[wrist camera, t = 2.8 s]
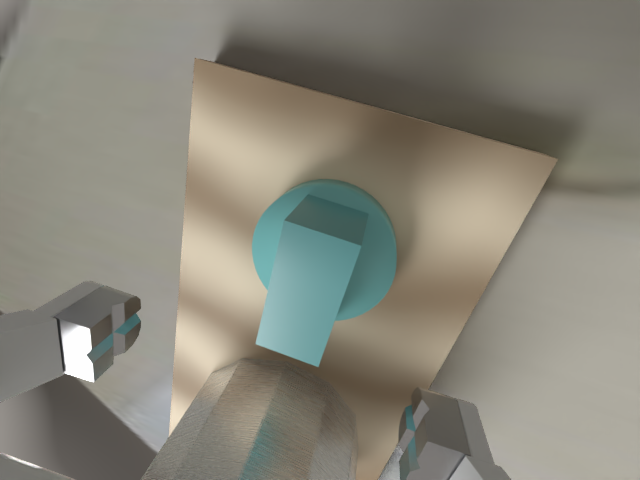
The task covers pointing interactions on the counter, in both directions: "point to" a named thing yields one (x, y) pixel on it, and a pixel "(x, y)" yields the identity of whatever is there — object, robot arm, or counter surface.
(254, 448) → the white thick faceted ring
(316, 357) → the teal disc with post
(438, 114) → the counter surface
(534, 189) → the base plate
